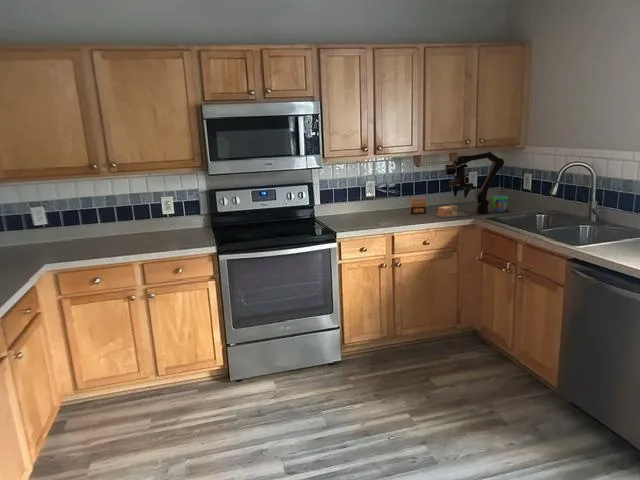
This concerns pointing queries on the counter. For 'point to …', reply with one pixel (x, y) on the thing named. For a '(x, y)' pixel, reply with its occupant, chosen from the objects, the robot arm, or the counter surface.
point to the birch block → (447, 211)
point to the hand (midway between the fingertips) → (460, 197)
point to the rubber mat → (459, 214)
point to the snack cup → (499, 203)
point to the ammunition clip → (418, 206)
